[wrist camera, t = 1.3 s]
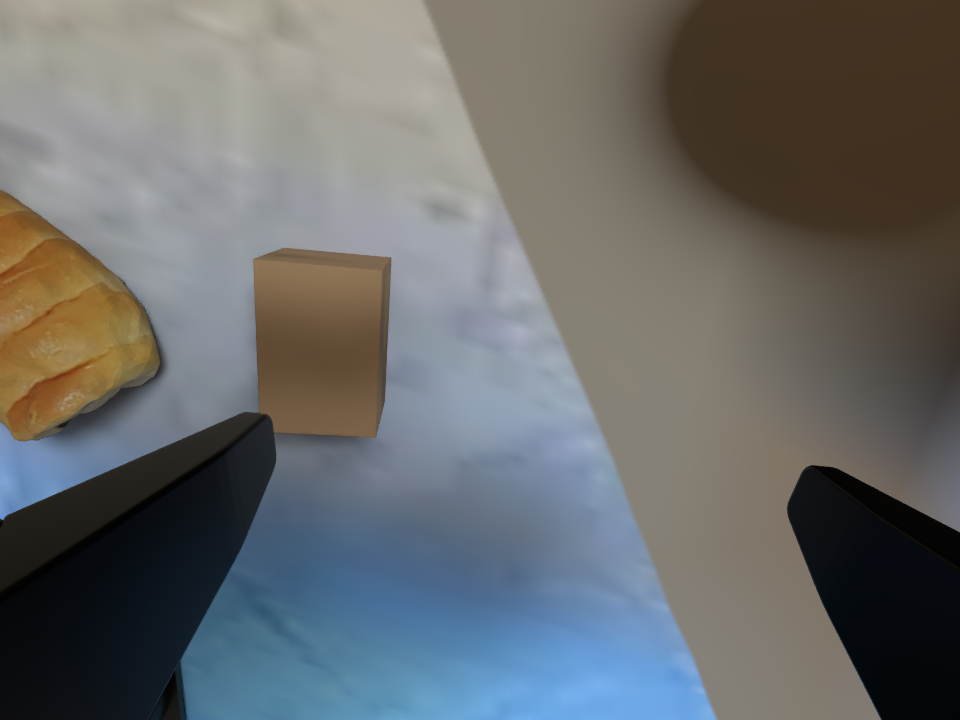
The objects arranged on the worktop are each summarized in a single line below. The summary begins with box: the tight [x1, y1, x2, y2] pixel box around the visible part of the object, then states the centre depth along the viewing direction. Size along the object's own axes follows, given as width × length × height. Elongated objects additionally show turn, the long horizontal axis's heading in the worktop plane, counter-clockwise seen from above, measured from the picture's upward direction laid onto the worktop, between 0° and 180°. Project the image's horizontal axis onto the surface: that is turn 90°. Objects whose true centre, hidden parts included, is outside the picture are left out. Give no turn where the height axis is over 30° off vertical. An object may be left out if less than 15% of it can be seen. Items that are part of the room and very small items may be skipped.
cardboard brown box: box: [253, 248, 391, 437], centre depth 18 cm, size 6×4×4 cm, turn 174°
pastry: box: [0, 190, 160, 441], centre depth 17 cm, size 9×7×4 cm
